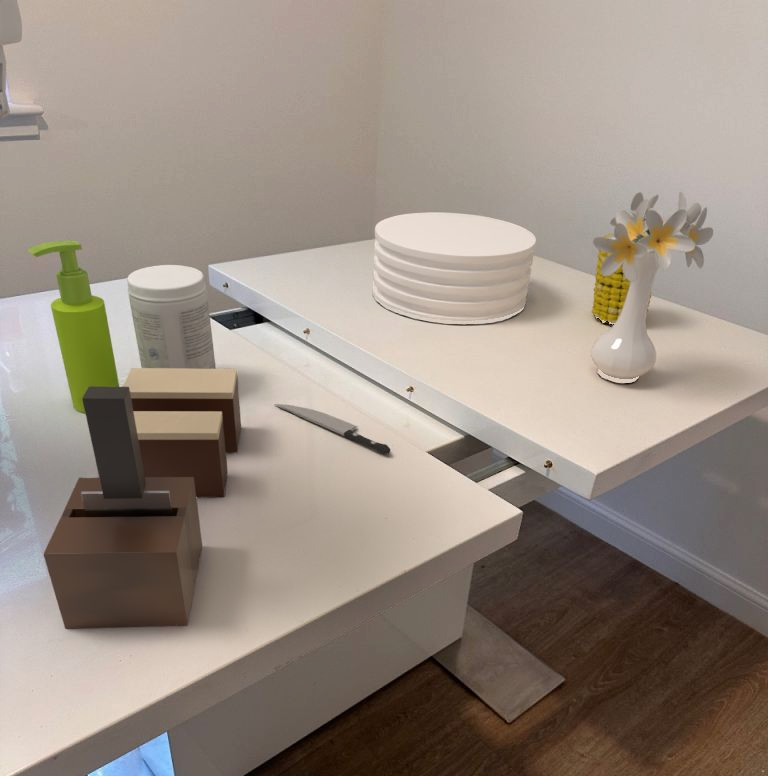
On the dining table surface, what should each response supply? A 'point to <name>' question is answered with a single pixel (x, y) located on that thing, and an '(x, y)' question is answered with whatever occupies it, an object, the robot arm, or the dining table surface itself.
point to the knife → (118, 459)
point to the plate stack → (452, 265)
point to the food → (610, 291)
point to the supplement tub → (171, 317)
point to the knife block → (126, 561)
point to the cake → (189, 394)
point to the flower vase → (643, 276)
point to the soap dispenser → (80, 325)
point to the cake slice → (184, 447)
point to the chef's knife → (334, 425)
